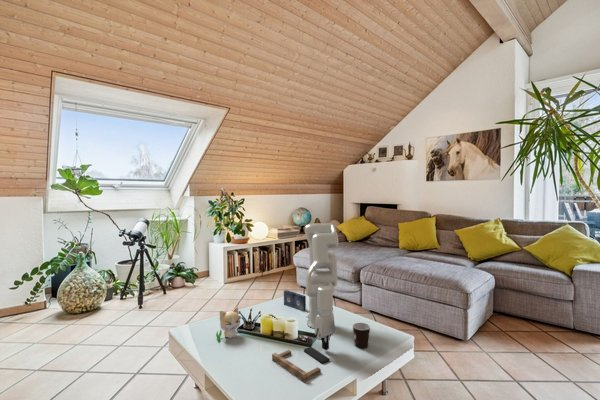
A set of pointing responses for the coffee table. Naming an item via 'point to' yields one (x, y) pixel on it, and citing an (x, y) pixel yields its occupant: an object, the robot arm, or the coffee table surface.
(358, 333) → the coffee mug
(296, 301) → the vhs cassette tape
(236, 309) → the kitten
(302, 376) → the walnut frame
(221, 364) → the coffee table surface
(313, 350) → the remote control
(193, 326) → the coffee table surface
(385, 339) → the coffee table surface
